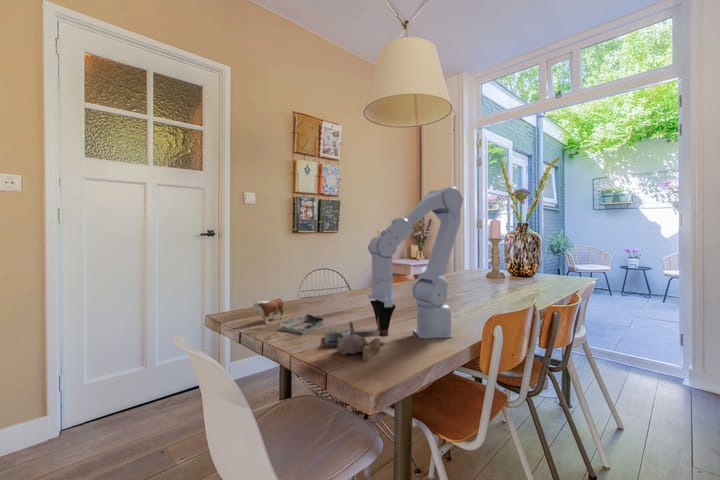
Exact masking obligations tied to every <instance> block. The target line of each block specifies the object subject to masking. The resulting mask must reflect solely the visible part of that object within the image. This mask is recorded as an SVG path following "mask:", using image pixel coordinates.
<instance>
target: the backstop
mask: <svg viewBox="0 0 720 480" xmlns="http://www.w3.org/2000/svg"><path fill="white" fill-rule="evenodd" d="M380 344H381V341H380V338H376V337H375V338H374V339H372V340H371V341H369V342H368V343H367V345H366V346H365V347H363V352H362V361H364V362H369V361H370V360H371V359H372V358H373V357H374V356H375V355H376V354H377V353H378V352H379V351H381V348H380V347H381V345H380Z"/></svg>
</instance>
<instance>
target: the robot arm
mask: <svg viewBox="0 0 720 480" xmlns="http://www.w3.org/2000/svg"><path fill="white" fill-rule="evenodd" d="M463 202H464V198H463V195H462V193H461V192H460V190H459V189H458V188H457V187H456V186H448V187H446V188H441V189H440V188H439V189H436V190H435V189H433V190H430V191H428V192H427V194H425V195H424V196H423V197H422V199H421V200H420V201H419V202H418V203H417V204H416V205H415V206H414V207H413V208H412V209H411V210H410V211H409V212H408V213H407V214H406V216H404V217H397V218H393V219H392V220H391V224H389V225H388V226H387V227H386V228H385V229H382V230H380V231H379V235H377V236H373V237H372V238H371V240H370V241H369V242H370V243H369V245H368V246H367V249H368V251H369V253H370V255H371V294H368V295H367V298H368V299H372V300H370V304H371V306H372V309H373V312H374V317H375V322H376V326H377V327H378V325H377V317H378V320H379V327H380V330H388V331H389V329H390V325H391V324H390V323H391V318H392V316H393V313H394V311H395V309H396V304H393V299H394V293H393V289H394V287H393V286H394V285H393V284H394V283H393V281H394V280H393V279H394V277H393V265H394V264H393V255H395V254H396V252H397V249H398V246H399V245H400V244H402V242H403V241H405V240H406V239H407V237H409V236H410V234H412V232H413V226H414V225H416V224H417V223H418V222H420V220H421V219H423V218H424V217H425V216H426V215H427V214H429V213H430V212H432V213H433V215H435V216H436V217H437V219H438V220H439V222H440V225H439V227H438V231H437V234H436V237H435V240H434V244H433V247H432V250H431V253H430V257H429V259H428V263H427V266H426V268H425V270H424V271H423V272H422V273H420V275H418V278H417V280H416V282H414V284H413V286H412V290H411V291H412V292H411V293H412V296H413V298H414V299H415V303H416V309H417V310H416V315H417V316H416V320H417V321H416V323H417V324H416V327H417V328H414V329H412V331H413V332H414V334H415V335H416V336H417V337H418V338H419V339H421V340H422V339H439V338H440V339H441V338H443V339H444V338H445V339H446V338H452V337H453V336H452V312H451V308H450V306H449V305H448V304H445V303H446V301H447V299H448V285H449V282H448V280H447V279H446V277H445V273H446V270H447V266H448V265H449V261H450V257H451V255H452V251H453V247H454V245H455V244H454V243H455V241H456V237H457V234H458V231H459V228H460V224H461V219H462V218H461V216H462V215H461V209H462V205H463Z"/></svg>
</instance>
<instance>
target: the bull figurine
mask: <svg viewBox="0 0 720 480" xmlns="http://www.w3.org/2000/svg"><path fill="white" fill-rule="evenodd" d="M283 308H284V300H283V299H282V298H275V299H272V300H261V301H259V300H256V301H255V302H253V304H252V307H250V309H251V310H252V311H256V312H258V313H259V314H260V315H261V316H262V318H263V321H262V323H264V325H268V324H269V321H268V320H269V318H270V315H271V319H270V320H274V319H275V317H276V315H278V313H280V318H279V320H283V318H284V309H283Z"/></svg>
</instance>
